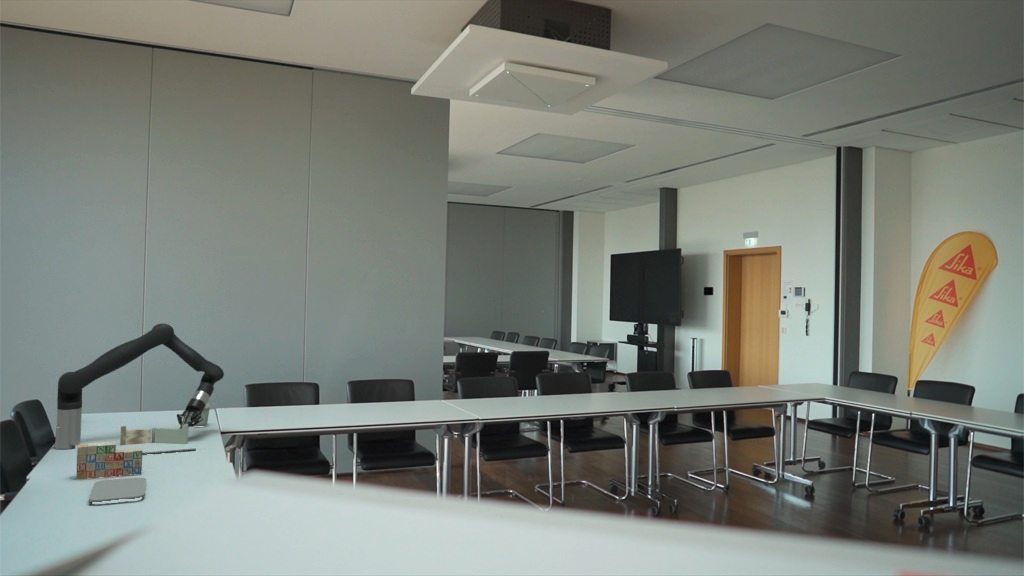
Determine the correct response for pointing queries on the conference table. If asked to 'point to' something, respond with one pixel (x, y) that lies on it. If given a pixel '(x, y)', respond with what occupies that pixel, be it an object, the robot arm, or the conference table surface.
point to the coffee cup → (204, 416)
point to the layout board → (169, 451)
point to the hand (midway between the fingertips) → (180, 433)
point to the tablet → (118, 489)
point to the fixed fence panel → (134, 436)
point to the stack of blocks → (107, 460)
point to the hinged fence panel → (170, 435)
